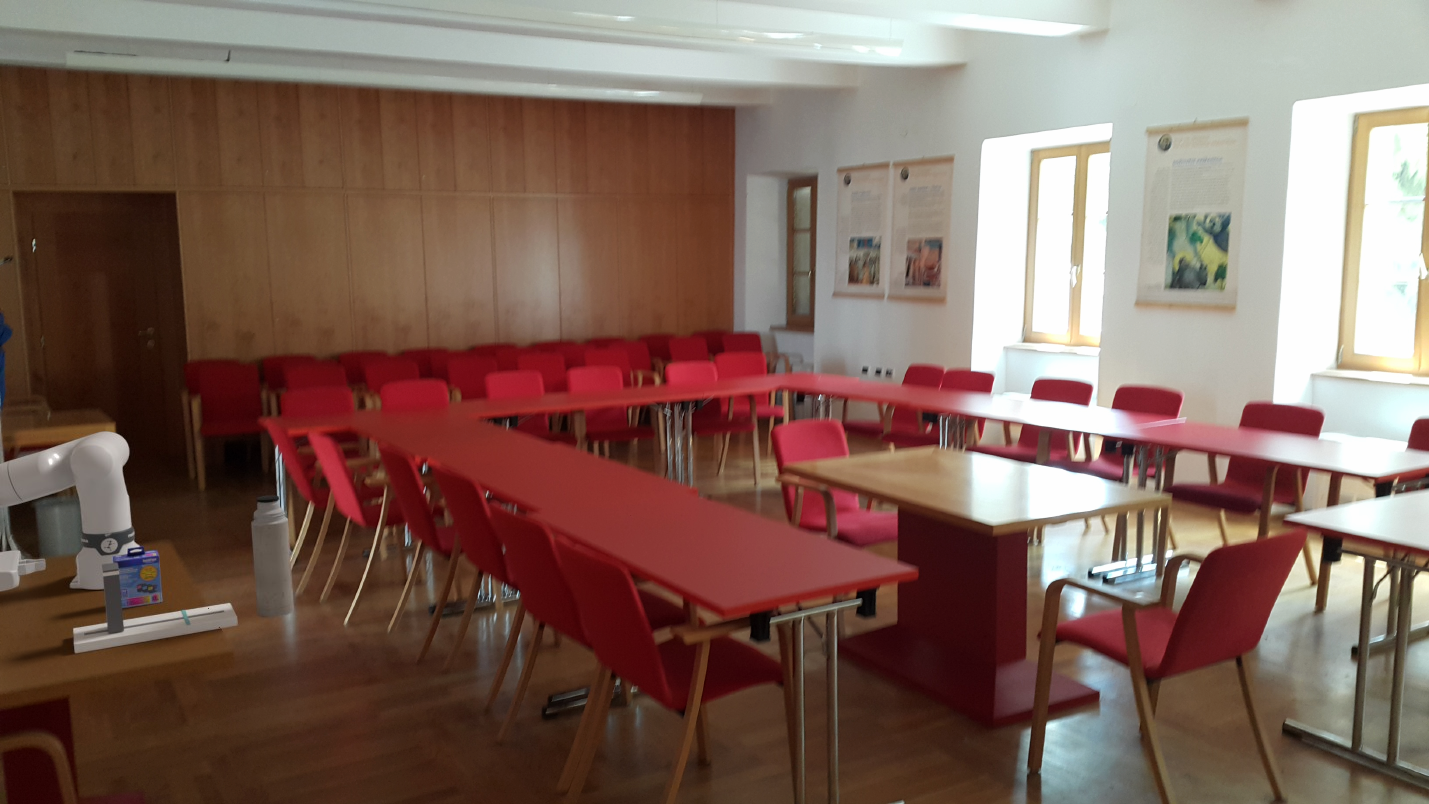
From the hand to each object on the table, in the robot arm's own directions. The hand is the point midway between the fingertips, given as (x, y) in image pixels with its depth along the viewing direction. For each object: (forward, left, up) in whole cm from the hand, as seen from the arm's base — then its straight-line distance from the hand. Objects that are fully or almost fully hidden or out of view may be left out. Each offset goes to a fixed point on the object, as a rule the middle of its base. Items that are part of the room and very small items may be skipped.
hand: (45, 564), depth 226 cm
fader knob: (0, +12, -17) cm, 20 cm away
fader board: (0, +20, -19) cm, 27 cm away
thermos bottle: (+1, +45, -19) cm, 49 cm away
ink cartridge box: (-25, +18, -19) cm, 36 cm away
